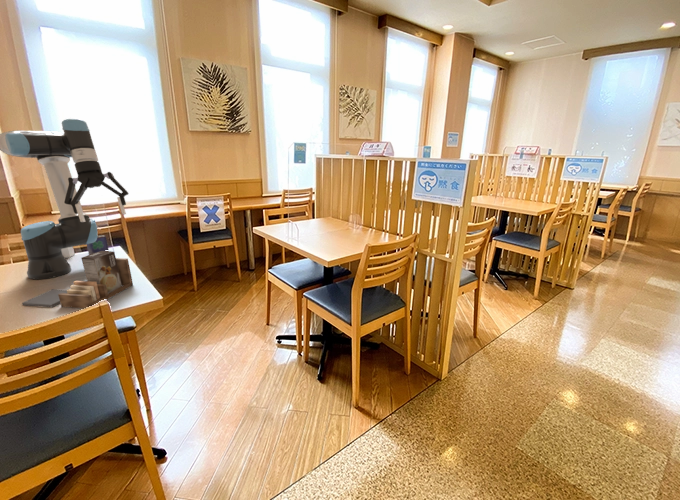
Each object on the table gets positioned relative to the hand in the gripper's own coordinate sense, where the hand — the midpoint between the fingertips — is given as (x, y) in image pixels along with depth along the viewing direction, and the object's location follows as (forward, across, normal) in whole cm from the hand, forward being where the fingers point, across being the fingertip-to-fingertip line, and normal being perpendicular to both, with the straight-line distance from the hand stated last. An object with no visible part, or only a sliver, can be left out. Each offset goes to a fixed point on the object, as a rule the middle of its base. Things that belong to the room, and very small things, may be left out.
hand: (104, 217), depth 124 cm
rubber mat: (+26, -26, +8) cm, 38 cm away
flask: (+10, -23, +65) cm, 70 cm away
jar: (+8, -38, +64) cm, 75 cm away
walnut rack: (+29, -11, +6) cm, 31 cm away
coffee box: (+28, -9, +9) cm, 31 cm away
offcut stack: (+30, -14, 0) cm, 33 cm away
